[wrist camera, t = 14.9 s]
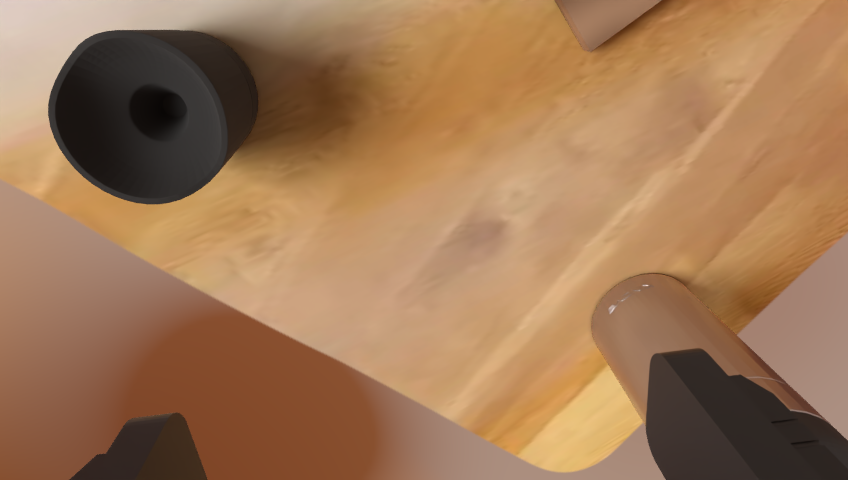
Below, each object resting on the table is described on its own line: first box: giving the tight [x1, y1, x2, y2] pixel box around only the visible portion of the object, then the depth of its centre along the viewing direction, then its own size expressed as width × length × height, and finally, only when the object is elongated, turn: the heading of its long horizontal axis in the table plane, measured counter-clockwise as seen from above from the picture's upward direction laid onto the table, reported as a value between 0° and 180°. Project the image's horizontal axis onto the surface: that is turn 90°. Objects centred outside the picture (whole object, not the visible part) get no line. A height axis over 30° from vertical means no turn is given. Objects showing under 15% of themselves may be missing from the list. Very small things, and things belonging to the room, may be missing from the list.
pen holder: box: [48, 30, 258, 204], centre depth 34 cm, size 9×9×10 cm
